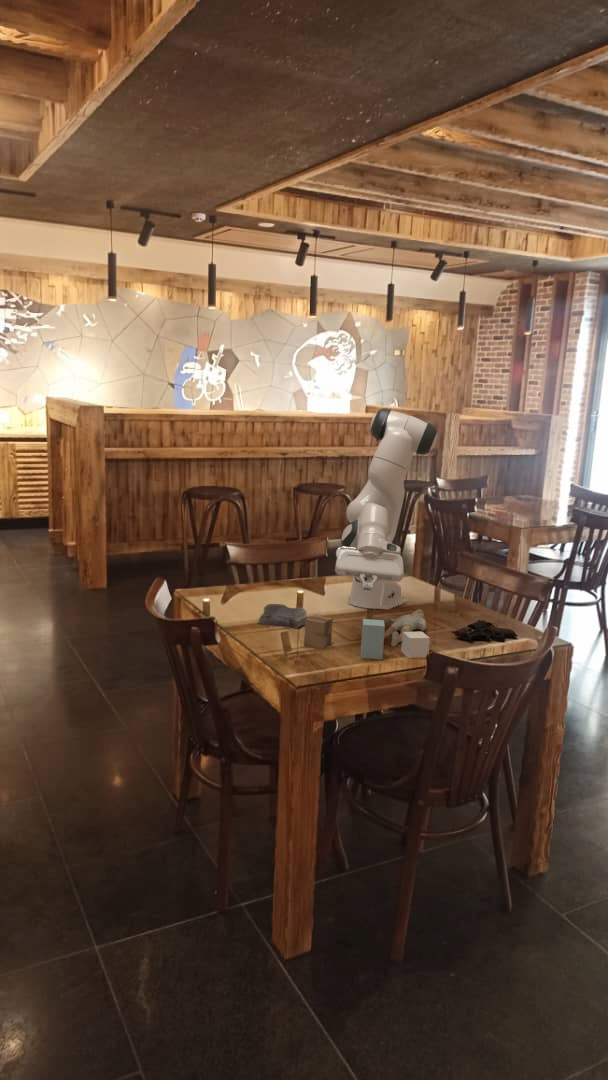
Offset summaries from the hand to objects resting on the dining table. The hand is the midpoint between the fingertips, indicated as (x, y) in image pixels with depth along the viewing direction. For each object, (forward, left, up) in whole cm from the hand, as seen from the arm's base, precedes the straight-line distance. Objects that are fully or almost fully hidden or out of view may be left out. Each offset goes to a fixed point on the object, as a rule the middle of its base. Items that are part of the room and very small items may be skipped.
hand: (367, 589), depth 229 cm
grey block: (-8, +13, -18) cm, 23 cm away
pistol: (-40, +16, -18) cm, 46 cm away
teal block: (+4, +7, -18) cm, 19 cm away
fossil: (+2, -33, -18) cm, 38 cm away
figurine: (-21, -3, -18) cm, 28 cm away
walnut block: (+10, -9, -18) cm, 22 cm away
